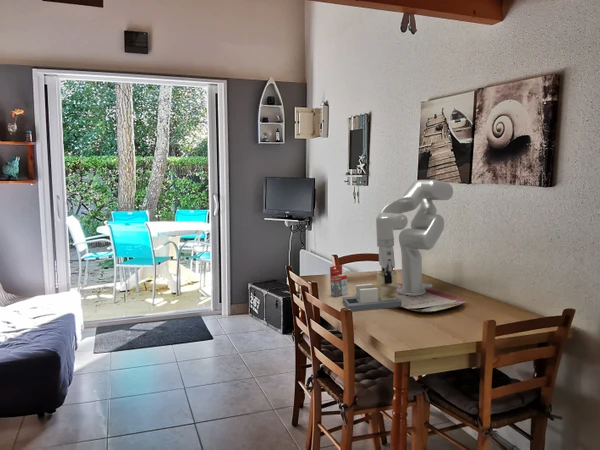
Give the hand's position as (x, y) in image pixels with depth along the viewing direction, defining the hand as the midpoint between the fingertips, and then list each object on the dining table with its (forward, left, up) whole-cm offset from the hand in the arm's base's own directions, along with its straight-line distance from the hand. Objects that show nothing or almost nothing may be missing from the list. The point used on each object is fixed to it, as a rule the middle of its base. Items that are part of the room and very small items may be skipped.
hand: (386, 281), depth 218 cm
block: (0, 0, -7) cm, 7 cm away
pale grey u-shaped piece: (+10, 0, -7) cm, 12 cm away
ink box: (+19, -20, -10) cm, 29 cm away
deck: (+8, 0, -10) cm, 13 cm away
